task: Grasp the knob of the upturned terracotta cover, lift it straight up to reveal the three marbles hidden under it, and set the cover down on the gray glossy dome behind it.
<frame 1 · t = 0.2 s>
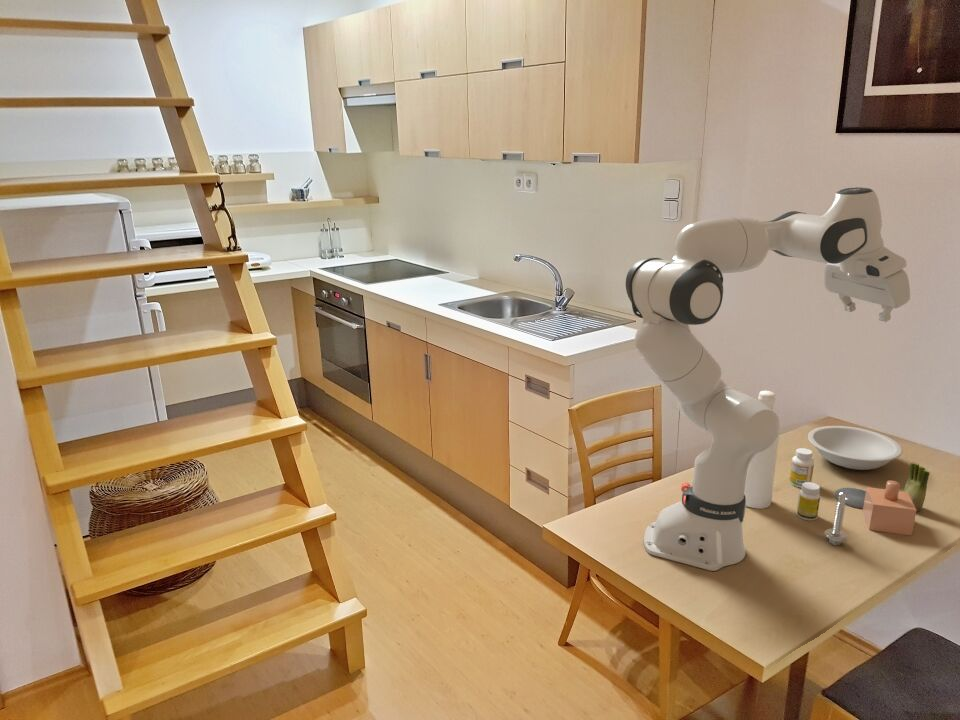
hand: (867, 315, 161), 51 cm above the table, tool tilted 20°, fingers open, 8 cm apart
marble ivory: (894, 526, 172), on the table
bottle: (754, 502, 184), on the table
terracotta cover: (886, 523, 173), on the table
screw: (834, 543, 165), on the table
gray glossy dome: (856, 499, 184), on the table
supplement bottle 2: (799, 484, 193), on the table
supplement bottle: (806, 516, 177), on the table
marble amber: (879, 524, 173), on the table
marble teal: (884, 519, 175), on the table
fennel bulb: (910, 508, 180), on the table
soup bowl: (850, 463, 205), on the table
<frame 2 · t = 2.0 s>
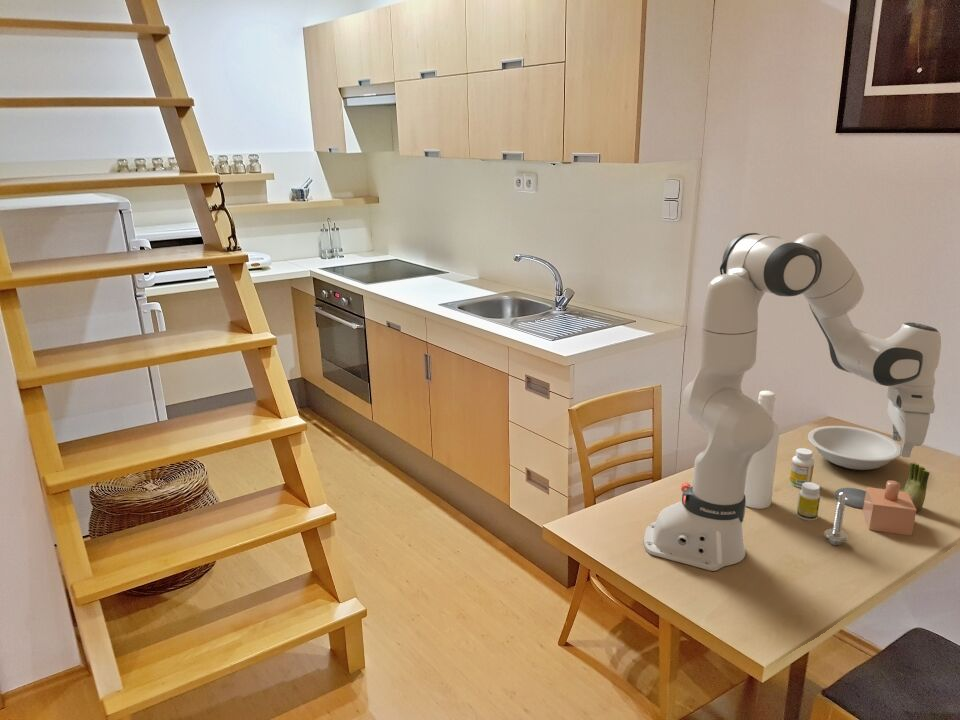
hand: (900, 447, 167), 20 cm above the table, tool pointing down, fingers open, 8 cm apart
nothing on the table moved.
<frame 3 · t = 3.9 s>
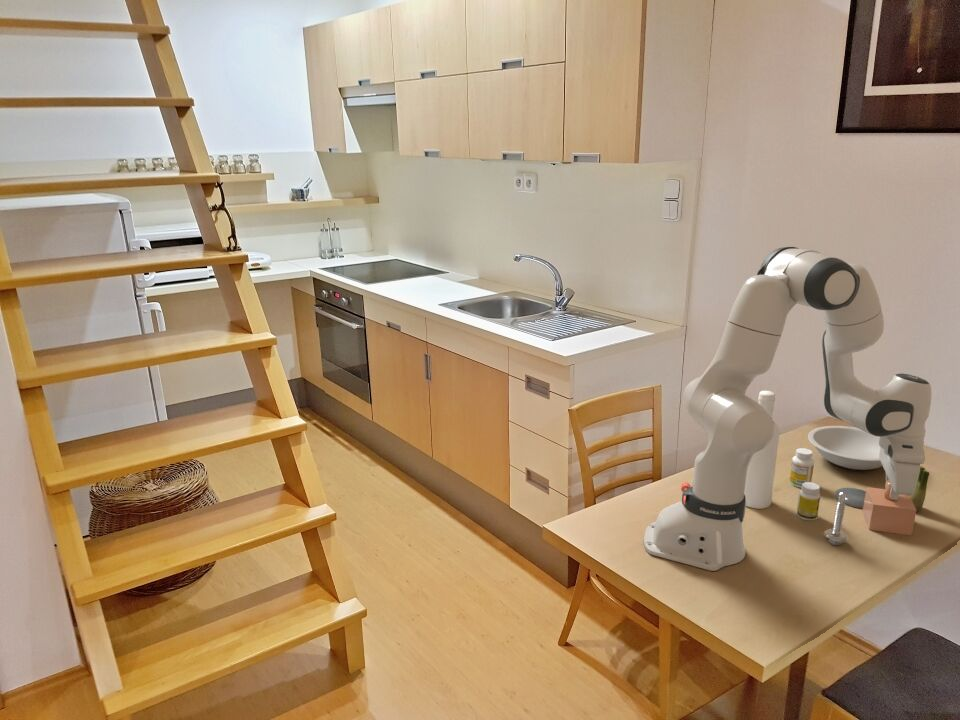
hand: (891, 494, 171), 8 cm above the table, tool pointing down, fingers closed on terracotta cover, 3 cm apart
terracotta cover: (886, 523, 173), on the table, touching gripper
everything else where it was.
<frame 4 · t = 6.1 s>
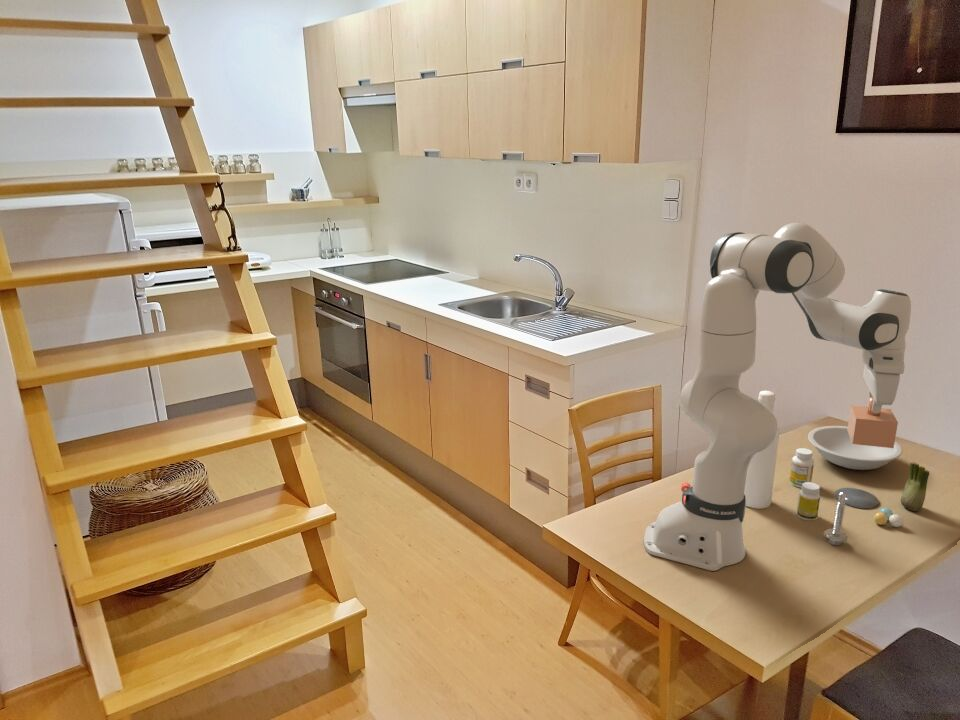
hand: (874, 409, 176), 25 cm above the table, tool pointing down, fingers closed on terracotta cover, 3 cm apart
terracotta cover: (869, 438, 178), point 17 cm above the table, touching gripper
everything else where it was.
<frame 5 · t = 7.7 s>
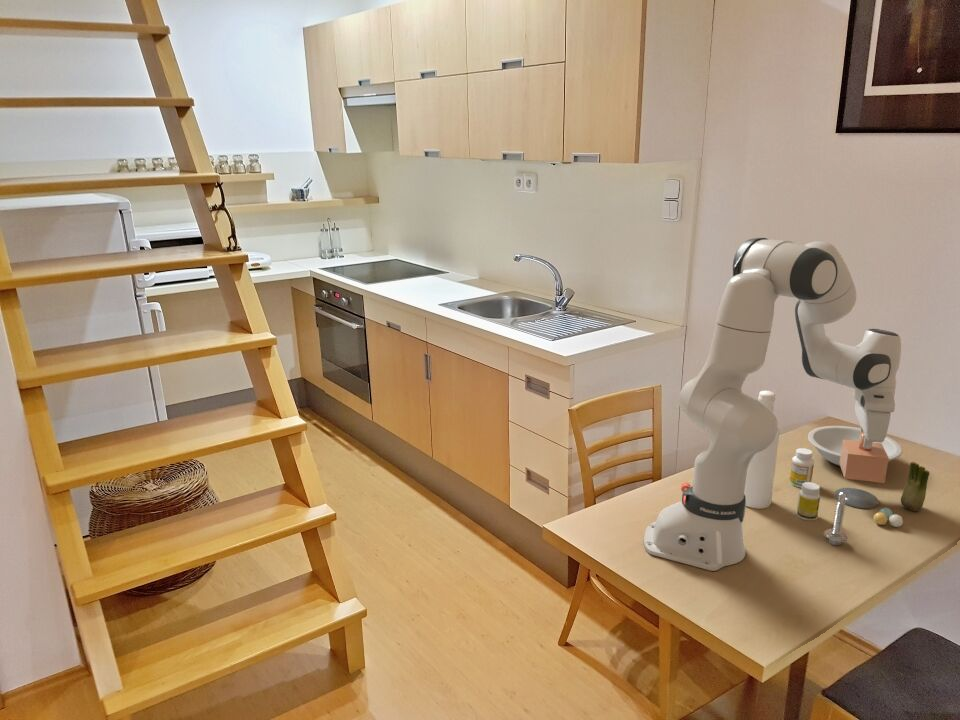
hand: (865, 444, 180), 16 cm above the table, tool pointing down, fingers closed on terracotta cover, 3 cm apart
terracotta cover: (861, 472, 182), point 8 cm above the table, touching gripper
everything else where it was.
when the fingers open (10 cm above the table, at t = 8.8 s): terracotta cover drops 1 cm, resting on gray glossy dome.
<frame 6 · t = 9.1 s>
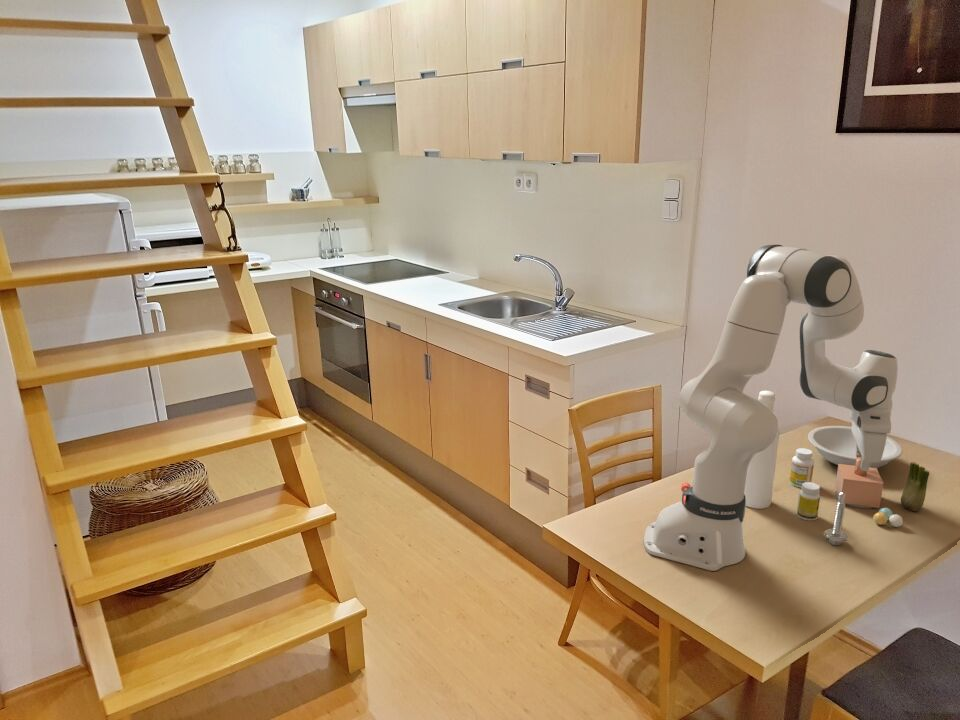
hand: (861, 463, 181), 10 cm above the table, tool pointing down, fingers open, 5 cm apart
terracotta cover: (856, 497, 184), point 1 cm above the table, touching gray glossy dome
everything else where it was.
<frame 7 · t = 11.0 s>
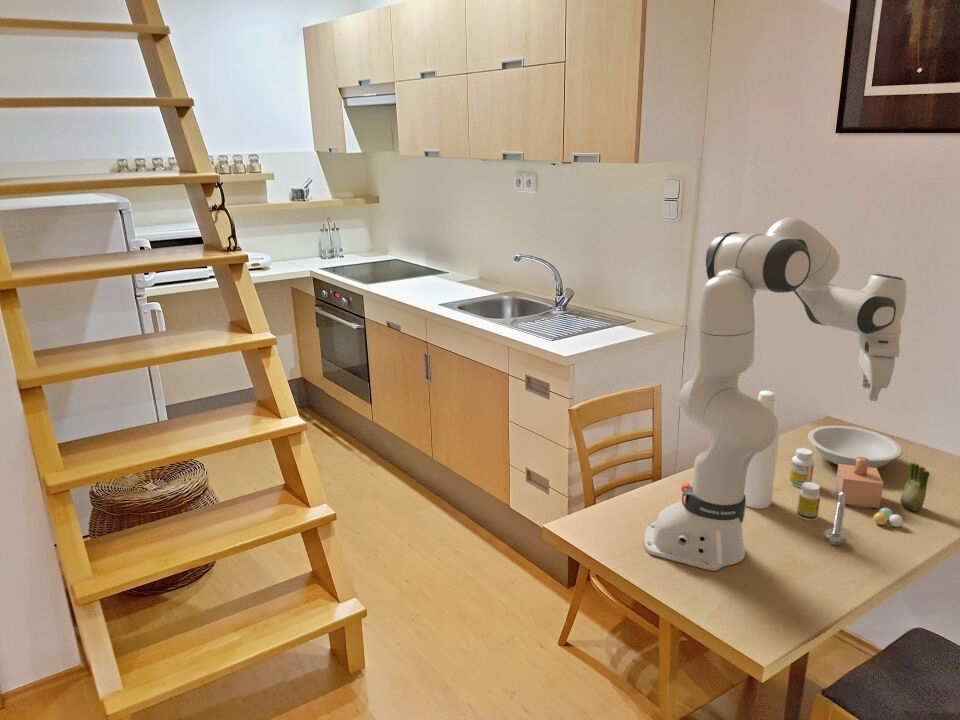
hand: (869, 393, 177), 29 cm above the table, tool pointing down, fingers open, 8 cm apart
nothing on the table moved.
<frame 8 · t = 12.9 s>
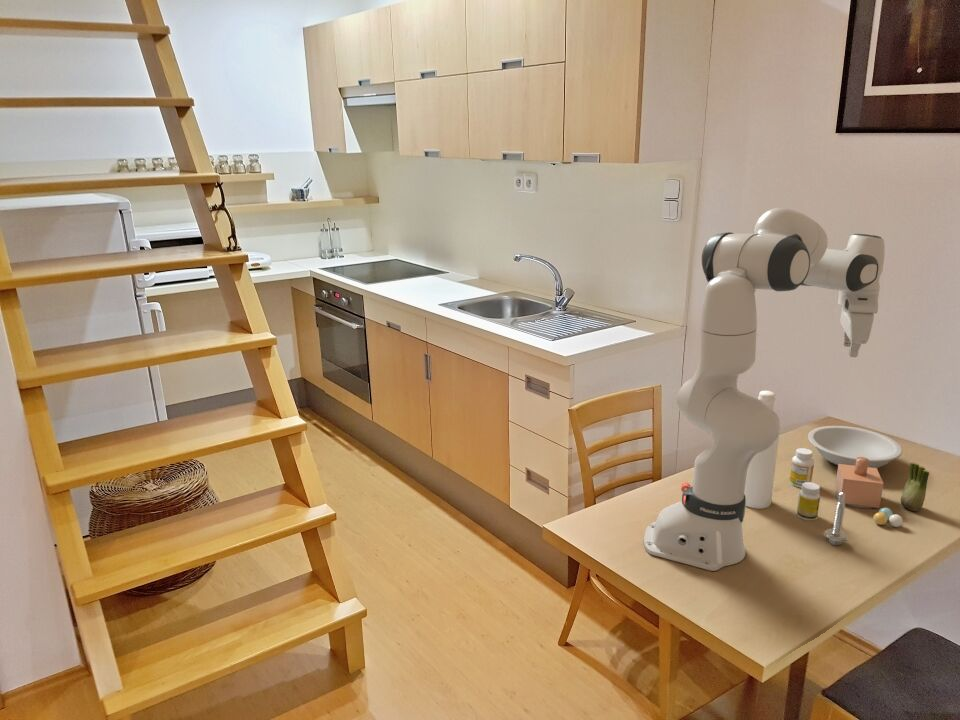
hand: (850, 351, 183), 37 cm above the table, tool pointing down, fingers open, 8 cm apart
nothing on the table moved.
at the end: terracotta cover 0.1 cm from the gray glossy dome (horizontally); terracotta cover tilted 0°; terracotta cover moved 12.0 cm from its start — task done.
